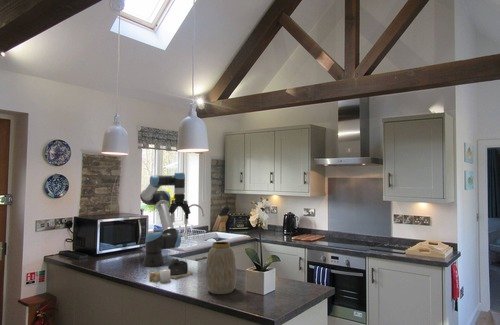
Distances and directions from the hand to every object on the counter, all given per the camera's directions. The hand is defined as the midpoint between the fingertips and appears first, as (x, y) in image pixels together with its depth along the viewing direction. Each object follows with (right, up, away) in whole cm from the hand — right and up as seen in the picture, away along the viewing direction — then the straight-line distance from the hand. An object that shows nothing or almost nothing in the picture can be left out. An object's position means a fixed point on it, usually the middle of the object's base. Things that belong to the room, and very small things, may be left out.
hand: (179, 223), depth 264 cm
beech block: (-8, -30, -36) cm, 48 cm away
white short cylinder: (-1, -30, -38) cm, 49 cm away
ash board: (+3, -31, -25) cm, 39 cm away
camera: (+3, -30, -25) cm, 39 cm away
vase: (+35, -29, -58) cm, 74 cm away
